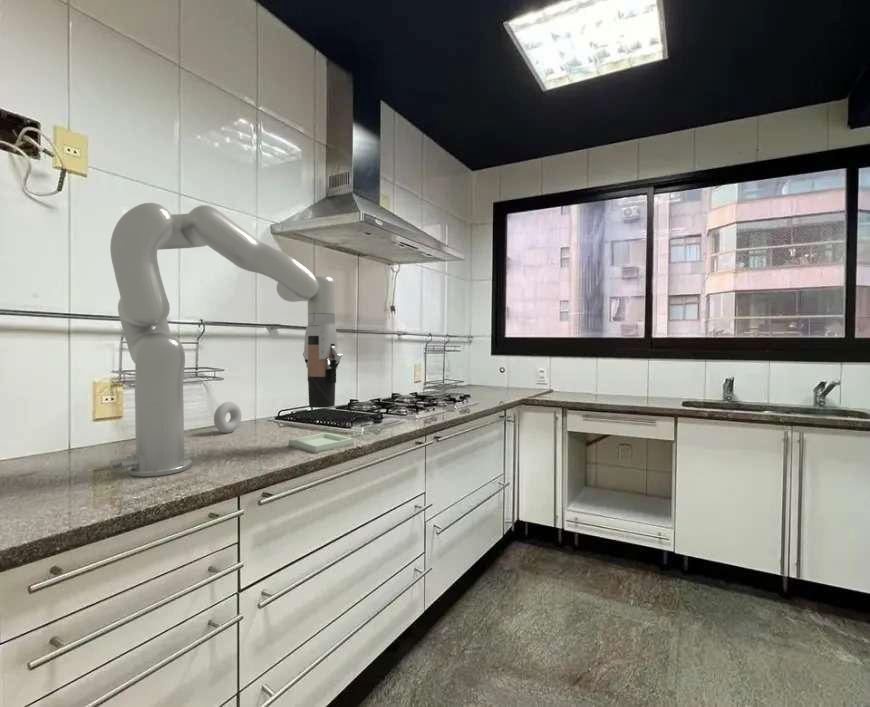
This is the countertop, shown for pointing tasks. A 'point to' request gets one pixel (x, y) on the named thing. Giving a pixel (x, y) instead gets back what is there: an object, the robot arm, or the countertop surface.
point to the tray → (320, 442)
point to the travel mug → (318, 377)
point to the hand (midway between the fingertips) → (321, 381)
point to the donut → (221, 414)
